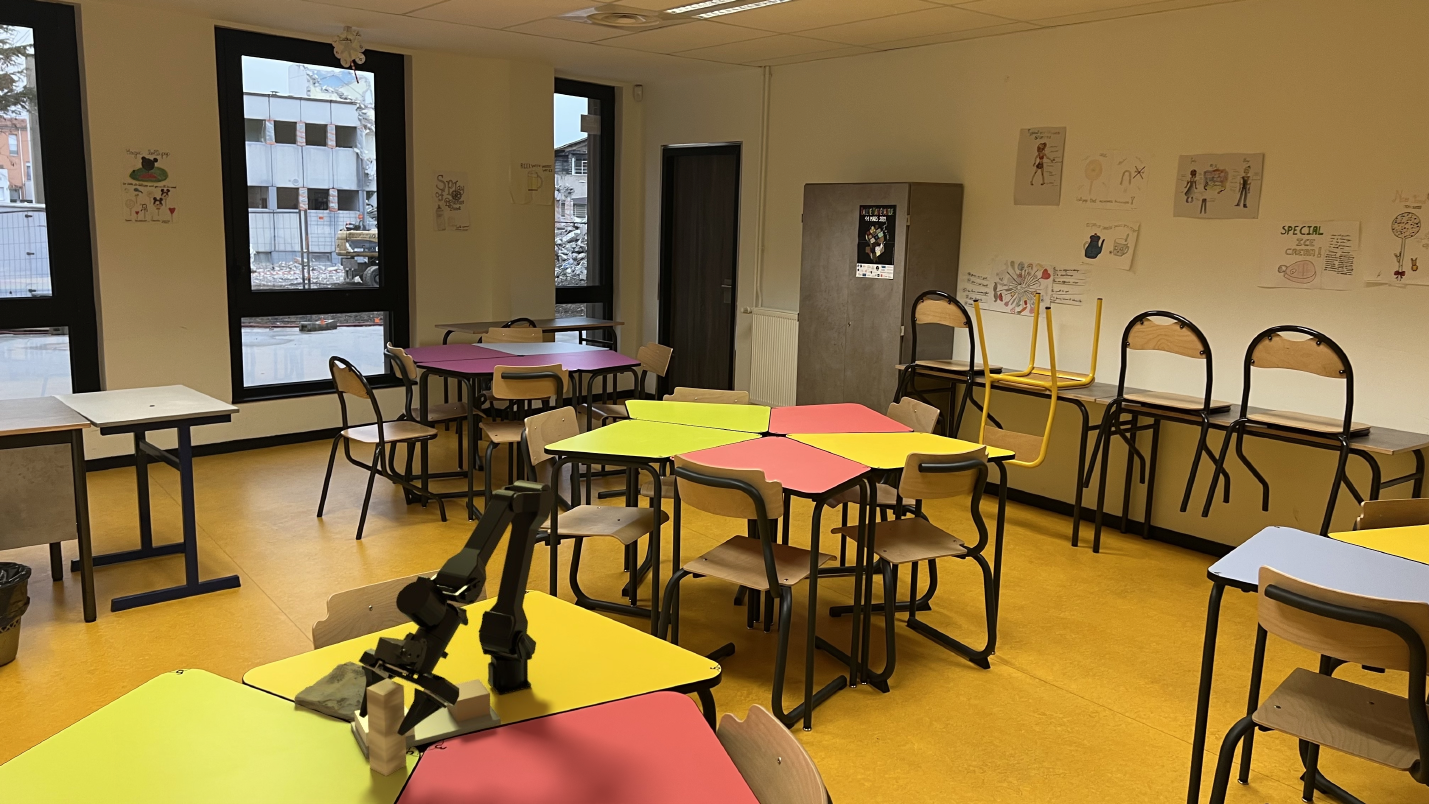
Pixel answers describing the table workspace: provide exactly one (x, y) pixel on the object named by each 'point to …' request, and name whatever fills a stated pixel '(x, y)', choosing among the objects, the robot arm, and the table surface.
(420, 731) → the building board
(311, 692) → the fossil rock
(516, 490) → the robot arm
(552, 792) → the table surface
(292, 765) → the table surface
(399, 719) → the beech pillar
